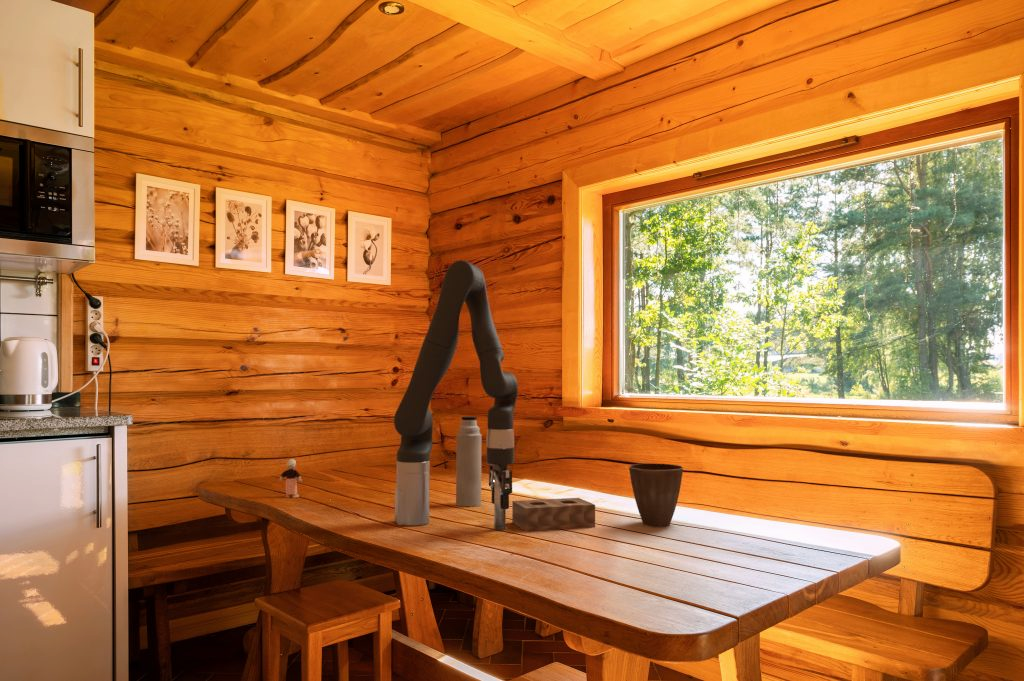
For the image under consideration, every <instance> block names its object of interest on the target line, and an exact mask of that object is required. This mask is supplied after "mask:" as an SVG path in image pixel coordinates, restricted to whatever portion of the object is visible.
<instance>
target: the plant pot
mask: <svg viewBox="0 0 1024 681" xmlns="http://www.w3.org/2000/svg"><path fill="white" fill-rule="evenodd" d="M628 470H629V477H630V484H631V488H632V492H633V496H634V500H635V504H636V507H637V510H638V513H639V517H640V518H641V521H642V523H643V525H644V526H649V527H650V526H651V527H667V526H670V525H671V523H672V519H673V516H674V514H675V510H676V507H677V504H678V502H679V501H678V500H679V496H680V492H681V488H682V486H681V485H682V481H683V480H682V479H683V472H684V466H682V465H679V464H670V463H655V462H654V463H636V464H635V463H634V464H630V465H629V466H628Z"/></svg>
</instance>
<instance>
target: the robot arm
mask: <svg viewBox="0 0 1024 681" xmlns="http://www.w3.org/2000/svg"><path fill="white" fill-rule="evenodd" d="M464 304H465V305H466V307H467V310H468V312H469V317H470V327H471V328H470V329H471V337H472V339H471V340H472V343H473V347H474V349H475V353H476V355H477V358H478V361H479V370H480V372H479V374H480V382H481V386H482V388H483V390H484V392H485V394H486V395H487V396H488V397H490V398H493V399H494V402H493V406H492V407H490V408H488V411H487V428H486V429H487V431H486V441H485V442H486V449H485V450H486V451H485V452H486V456H485V457H486V458H485V459H486V460H485V461H486V463H487V464H489V465H488V470H489V471H488V487H489V488H490V490H491V504H493V505H494V490H495V479H496V483H497V487H498V488H499V489H500V494H501V495H500V508H501V509H506V510H509V509H510V495H511V494H512V493H513V471H512V469H509V467H508V465H512V464H514V463H515V433H514V432H515V431H514V412H515V408H516V403H517V398H518V393H519V384H518V380H517V377H516V376H515V375H514V374H513V373H511V372H508V371H503V370H502V362H503V361H504V359H505V355H504V351H503V346H502V344H501V341H500V338H499V335H498V333H497V329H496V326H495V323H494V320H493V315H492V312H491V308H490V303H489V298H488V290H487V284H486V279H485V275H484V273H483V271H482V269H481V268H480V267H478V266H476V265H475V264H473V263H471V262H469V261H467V260H462V259H459V260H456V261H454V262H452V263H451V264H450V265H449V266H448V267H447V269H446V271H445V274H444V276H443V280H442V284H441V289H440V293H439V296H438V300H437V304H436V307H435V310H434V312H433V315H432V317H431V321H430V324H429V326H428V329H427V332H426V334H425V337H424V339H423V341H422V345H421V347H420V350H419V353H418V357H417V360H416V363H415V365H414V368H413V371H412V374H411V377H410V381H409V383H408V386H407V388H406V391H405V393H404V395H403V397H402V398H401V401H400V403H399V405H398V407H397V409H396V411H395V414H394V417H393V425H394V428H395V431H396V432H397V434H398V435H400V443H399V447H398V449H397V452H396V486H395V488H394V522H395V524H396V525H397V526H422V525H427V524H429V523H430V483H431V482H430V479H431V478H430V476H431V474H430V472H431V470H430V468H431V466H430V465H431V464H430V463H431V461H430V459H431V452H432V449H433V448H432V447H433V432H434V429H433V427H434V420H433V419H434V418H433V414H432V412H431V409H430V403H431V400H432V397H433V395H434V392H435V391H436V389H437V387H438V385H439V384H440V382H441V381H442V379H443V378H444V377H445V375H446V373H447V371H448V370H449V368H450V366H451V364H452V361H453V358H454V355H455V352H456V349H457V348H458V347H457V346H458V343H459V334H460V330H459V329H460V328H459V327H460V317H461V316H460V315H461V312H462V310H463V306H464ZM505 487H506V489H505Z"/></svg>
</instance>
